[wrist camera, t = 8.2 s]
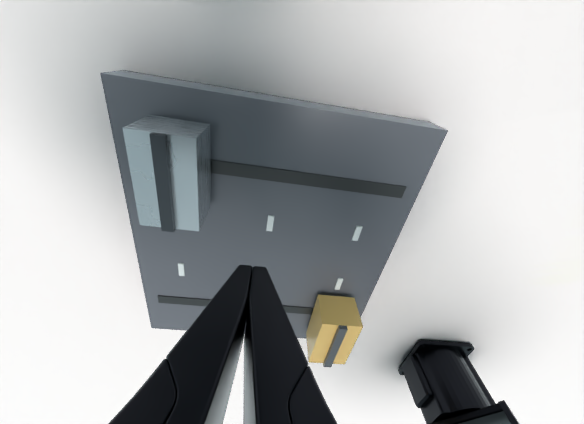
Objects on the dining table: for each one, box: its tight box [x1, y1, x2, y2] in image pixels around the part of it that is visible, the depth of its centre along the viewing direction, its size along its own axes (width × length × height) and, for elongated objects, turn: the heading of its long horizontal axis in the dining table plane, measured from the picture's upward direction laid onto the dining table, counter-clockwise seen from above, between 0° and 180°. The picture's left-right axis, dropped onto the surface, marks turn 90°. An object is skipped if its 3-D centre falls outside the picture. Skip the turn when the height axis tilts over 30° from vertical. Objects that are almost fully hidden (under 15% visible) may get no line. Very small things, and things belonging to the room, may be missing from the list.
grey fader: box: [123, 115, 211, 232], centre depth 13 cm, size 3×5×3 cm, turn 171°
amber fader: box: [306, 295, 363, 367], centre depth 21 cm, size 3×5×3 cm, turn 171°
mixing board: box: [101, 70, 448, 338], centre depth 19 cm, size 18×20×2 cm
